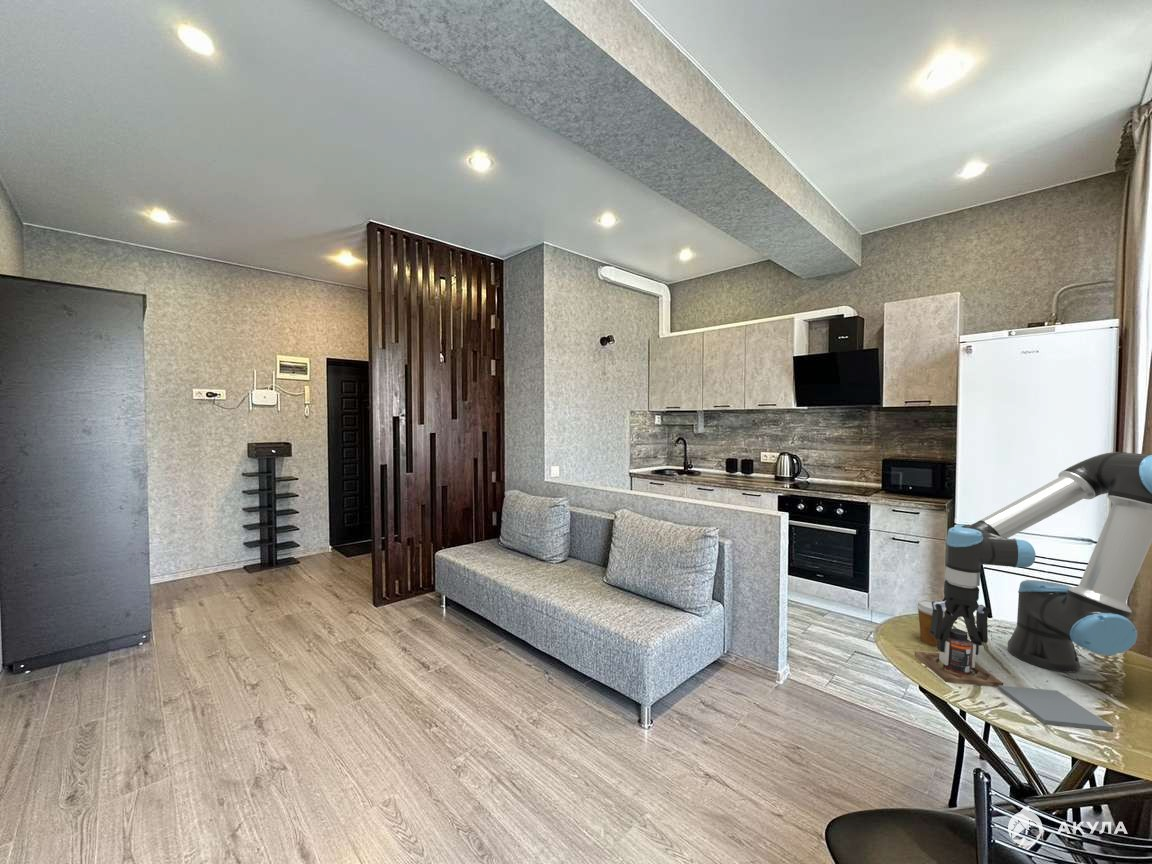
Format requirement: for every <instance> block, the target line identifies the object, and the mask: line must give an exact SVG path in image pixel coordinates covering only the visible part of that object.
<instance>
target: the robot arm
mask: <svg viewBox="0 0 1152 864" xmlns="http://www.w3.org/2000/svg"><path fill="white" fill-rule="evenodd" d="M1105 494H1106V495H1107V496H1106V497H1107V499H1109V501H1110V502H1111V504H1112V505H1111V508H1110V510H1109V513H1108V515H1107V517H1106V519H1105V522H1104V524H1103V527H1102V529H1101V532H1100V535H1099V537H1098V539H1097V541H1096V545H1095V546H1094V548H1093V551H1092V553H1091V556H1090V558H1089V561H1088V563H1087V565H1086V567H1085V570H1084V572H1083V575H1082V577H1081V579H1080V582H1079V585H1077V586H1070V585H1068V584H1062V583H1057V582H1052V581H1045V580H1035V579H1025V580H1022V581H1021V582H1020V584H1019V587H1018V591H1017V593H1018V601H1017V602H1018V603H1017V615H1016V616H1017V617H1016V618H1017V619H1016V626H1015V629H1014V631H1013V632H1012V634H1011V637H1010V638H1009V639H1008V641H1007V647H1006V648H1007V649H1006V650H1007V651H1008V652H1009V653H1010V654H1011V655H1012V656H1014V657H1015V658H1017V659H1019V660H1021V661H1023V662H1026V663H1029V664H1031V665H1033V666H1037V667H1040V668H1043V669H1044V668H1045V669H1047V670H1052V671H1057V672H1063V673H1074V672H1078V671H1079V669H1080V659H1079V657H1078V654H1077V650H1076V648H1075V645H1076V646H1078V647H1080V648H1083V649H1086V650H1088V651H1090V652H1091V653H1095V654H1098V655H1102V656H1114V655H1117V654H1123V653H1125V652H1126V651H1128V650H1130V649H1131V648H1132V647H1133V646H1134V645H1135V643H1136V641H1137V639H1138V630H1137V629H1136V626H1135V625H1134V624H1133V621H1132V622H1131V620H1129V619H1130V618H1131V615H1132V612H1133V611H1132V610H1131V608H1130V607H1129V605H1128V604H1127V600H1128V599H1129V595H1130V594H1131V591H1132V589H1133V587H1134V584H1135V581H1136V580H1137V577H1138V575H1139V573H1140V570H1141V567H1142V565H1143V563H1144V560H1145V558H1146V557H1147V553H1148V551H1149V549H1150V547H1151V544H1152V453H1151V454H1150V453H1149V454H1147V453H1134V452H1125V451H1115V452H1114V451H1111V452H1105V453H1101V454H1097V455H1095V456H1092V457H1089V458H1087V459H1084V460H1082V461H1080V462H1077V463H1076V464H1074V465H1072V466H1069V467H1067V468H1066V469H1064V470H1062V471H1060V472H1059V473H1058V478H1055V479H1054V480H1052V481H1049V482H1048V483H1046V484H1044V485H1043V486H1041V487H1039V488H1037V489H1035V490H1034V491H1031V492H1029V493H1028V494H1026V495H1024V496H1022V497H1020V498H1019V499H1016V500H1014V501H1013V502H1011V503H1009V504H1008V505H1006V506H1004V507H1002V508H1000V509H998V510H997V511H995V512H993V513H991V514H989V515H987V516H985V517H984V518H982V519H980V520H978V521H976V522H974V523H971V524H965V523H964V524H963V523H962V524H957V525H955V526H953V527H950V528H948V531H947V536H946V542H945V543H946V549H945V551H946V552H945V569H944V570H945V571H944V580H945V581H944V582H943V583H944V585H943V594H944V598H942V601H937V602H935V600H931V601H932V607H933V613H932V620H931V627H930V634H931V635H932V636H933V637H935V638H936V639H937V647H936V649H937V651H939V660H940V661H939V662H941V663H942V665H943V664H945V665H948V661H949V644H950V643H949V642H948V641H947V638H948V636H949V634H950V631H951V629H952V628H954V623H955V622H956V621H957V620H958V618H961V617H962V618H963V621H964V624H965V627H966V632H967V634H968V637H969V639H968V640H969V641H970V642H971V644H972V647H971V666H970V667H972V668H975V663H976V657H977V656H978V655H979V649H980V647H981V646H983V643H985V644H987V643H988V641H989V640H988V637H989V636H988V635H989V633H988V631H989V630H988V629H989V628H988V616H989V614H990V611H991V610H990V608H988V607H987V606H985V605H983V604H979V603H978V601H979V599H980V598H979V595H980V588H979V586H981V585H980V584H981V566H982V565H988V566H999V567H1010V568H1011V567H1012V568H1014V569H1015V568H1029V567H1030V566H1032V565H1034V562H1035V561H1036V551H1035V548H1034V547H1033V545H1032V544H1031V543H1030V542H1029V541H1028V540H1024V539H1018V538H1012V537H1013V536H1014V535H1016V534H1018V533H1020V532H1022V531H1025V530H1027V529H1028V528H1030V527H1032V526H1034V525H1036V524H1037V523H1040V522H1041V521H1043V520H1045V519H1047V518H1050V517H1051V516H1053V515H1055V514H1057V513H1059V512H1061V511H1063V510H1064V509H1066V508H1068V507H1070V506H1072V505H1074V504H1076V503H1078V502H1080V501H1082V500H1093V499H1095V498H1096V497H1098V496H1101V495H1105ZM944 607H946V611H945V613H944V614H945V616H944V619H943V621H942V618H943V610H944ZM975 612H976V613H975ZM974 613H975V614H976V615H975V614H974ZM951 614H952V615H951ZM975 617H976V618H975ZM975 621H976V622H975ZM1074 644H1075V645H1074Z"/></svg>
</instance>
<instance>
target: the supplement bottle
mask: <svg viewBox="0 0 1152 864" xmlns="http://www.w3.org/2000/svg"><path fill="white" fill-rule="evenodd" d="M968 637H969V635H968V631H965V630H963V629H960V628H954V627H952V629H951V631H950V634H949V636H948V638H947V641H948V642H949V643H950V644H949V661H948V665H945V664H943V663H942V665H943V666H942V667H943V668H944V669H947V670H950V671H953V672H955V673H958V674H962V675H970V673H971V669H970V666H971V647H972V644H971V642H970V641H971V640H970V639H968ZM969 640H970V641H969Z"/></svg>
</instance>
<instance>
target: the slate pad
mask: <svg viewBox="0 0 1152 864" xmlns="http://www.w3.org/2000/svg"><path fill="white" fill-rule="evenodd" d="M997 689H998V690H999V691H1000V692H1001V693H1003V694H1004V695H1006V696H1007V697H1008V698H1009V699H1011V700H1012V701H1014V702H1015V703H1016V704H1017V705H1018V706H1020V707H1021V708H1022V709H1024V710H1025V711H1027V712H1028V713H1029V714H1030V715H1032V717H1034V718H1036V719H1037V720H1038V721H1040V722H1041V723H1043V724H1044V725H1050V726H1059V727H1069V728H1080V729H1088V730H1098V731H1108V732H1109V731H1110V732H1113V731H1114V726H1113V725H1111V724H1109V723H1108V722H1106V721H1105V720H1104V719H1102V718H1100V717H1098V716H1097V715H1096V714H1094V713H1093V712H1091V711H1090V710H1088V709H1086V708H1085V707H1084V706H1082V705H1081V704H1079V703H1078V702H1076V701H1075V700H1072V699H1071V698H1070V697H1068V696H1066V695H1065V694H1064V693H1062V692H1061V691H1059V690H1055V689H1054V690H1053V689H1041V688H1031V687H1023V686H1022V687H1021V686H1010V685H1003V686H1002V685H998V687H997Z"/></svg>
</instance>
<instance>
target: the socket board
mask: <svg viewBox="0 0 1152 864" xmlns="http://www.w3.org/2000/svg"><path fill="white" fill-rule="evenodd" d="M914 656H915V657H916V658H917V659H919V661H921V662H922V663H923V664H924V665H925V666H927V668H929V669H930V670H931V671H932V672H933V673H934V674H936V675H937V676H938V677H939V678H940V679H942V680H943V682H945V683H952V684H963V685H973V686H974V685H976V686H984V687H985V686H986V687H994V688H998V685H1002V686H1004V682H1003V681H1002V680H1000V679H999V678H997V677H996V676H995V675H994V674H992V673H991V672H989V671H988V670H986V669H985V668H984V667H982V666H981V665H980V664H978V663H977V662H975V668H972V667H970V671H972V672H973V673H975V675H970V674H968V675H962V674H958V673H955V672H953V671H950V670H947V669H945V668H944V666H942V665H940V664H939V662H941V661H940V660H939V653H938V652H928V651H927V652H926V651H914Z"/></svg>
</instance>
